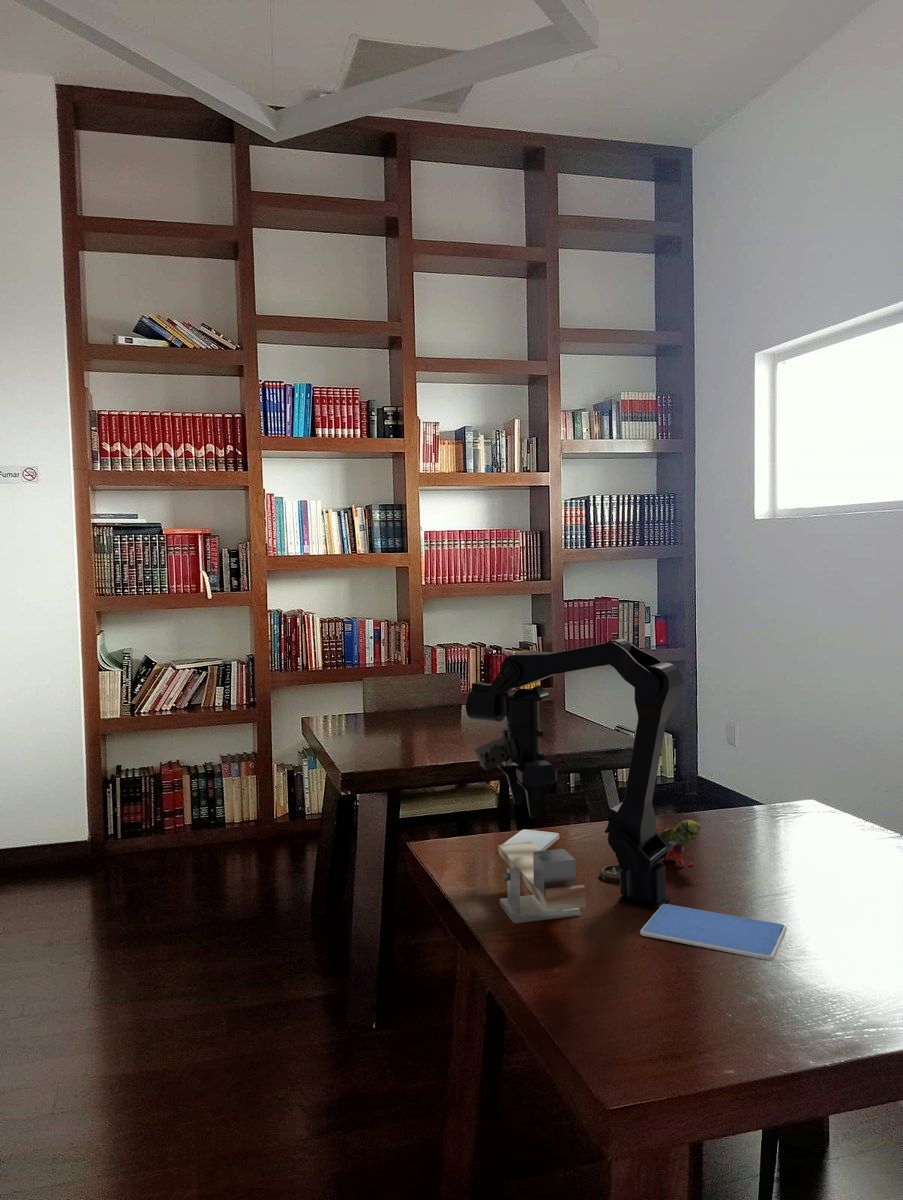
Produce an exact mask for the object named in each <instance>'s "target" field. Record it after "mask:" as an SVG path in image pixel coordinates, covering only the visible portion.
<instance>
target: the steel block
mask: <svg viewBox="0 0 903 1200" xmlns="http://www.w3.org/2000/svg"><path fill="white" fill-rule="evenodd" d="M533 868H534V884H535V886H536V887H537V888H538V889H539V890H540V891H541V893H542V894H543V895H544V896H545V889H550V888H558V887H567V886H576V884H577V882H576V881H577V880H576V879H577V876H576V873H577V871H576V859H575V858H574V857H573V855H571V854H570V853H569V852H568V851H567V850H566V849H565V848H557V849H546V850H545V851H537V852H533Z"/></svg>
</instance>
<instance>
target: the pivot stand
mask: <svg viewBox="0 0 903 1200" xmlns="http://www.w3.org/2000/svg"><path fill="white" fill-rule="evenodd" d="M502 880H503V882H507V883H506V888H507V889H506V890H507V893H506V894H507V897H503V898H499V906H500V905H501V906H500V907H501V908H502V909H503V911H504V912H505V913H506V915H507V917H509V919H510V920H511V922H512V923H513V924H520V923H529V922H536V921H537V922H538V921H546V920H553V919H563V918H568V917H577V916H579V917H580V916H581V908H572V909H564V910H556V911H547V910H546V909H545V908H544V907H543V906H542V904H541V903H540V902H539V901H538V900H537V899H536V897H535V896H534V895H533V894H529V895H521V883H520V882H521V879H520V872H519V870H518V869H517V868H510V867H507V868H506V872H505V873H502Z"/></svg>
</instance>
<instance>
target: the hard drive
mask: <svg viewBox="0 0 903 1200" xmlns="http://www.w3.org/2000/svg"><path fill="white" fill-rule="evenodd" d="M559 839H560V833H558V832H551V831H543V830H542V831H541V830H534V829H521V830H520V831H519V832H517V833H516V834H514V835H512V837H511V838H508V839H507V840H506V841H505V842H504V843H502V844H501V845H503V844H512V843H522V842H532V843H533V844H534V845H535V846H536V847H537V848H538V849H539V850H540V851H547V850H548V849H549V848H550V847H551V846H552V845H553V844H555V842H557V841H558V840H559ZM497 852H498V853H499V851H497Z"/></svg>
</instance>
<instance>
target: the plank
mask: <svg viewBox="0 0 903 1200" xmlns="http://www.w3.org/2000/svg"><path fill="white" fill-rule="evenodd" d="M502 844H503V845H502ZM502 844H498V845H497V846H498V848H497V850H498V851H499V852H498V851H497V852H498V854H499V856H500V857H501V858H502V859H503V861H504V862H505V863H506V864H507V865H508V867H509V868H517V869H518V870H519V872H520V882H521V881H522V882H521V883H523V884H524V886H525V887H526V888H527V889H528V890H529V891H530V893H531V895H534V896H535V897H536V899H537V900H538V901H539V902H540V903H541V904H542V906H543V907H544V908H545V909H546V910H547V911H556V910H564V909H572V908H580V909H581V908H587V902H586V901H587V898H586V896H587V893H586V889H587V888H586V886H585V885H584V884H578V885H576V886H567V887H558V888H550V889H545V896H544V895H543V894H542V893H541V891H540V890H539V889H538V888H537V887H536V886H535V884H534V868H533V852H537V851H540V850H539V849H538V848H537V847H536V846H535V845H534V844H533V843H532V842H522V843H512V844H504V843H502Z"/></svg>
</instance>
